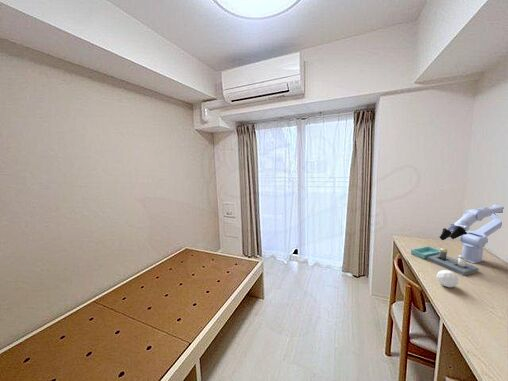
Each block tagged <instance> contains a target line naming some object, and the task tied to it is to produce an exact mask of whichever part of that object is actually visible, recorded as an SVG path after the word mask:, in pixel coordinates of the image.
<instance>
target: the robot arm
mask: <svg viewBox="0 0 508 381" xmlns="http://www.w3.org/2000/svg"><path fill="white" fill-rule="evenodd" d="M496 204H497V203H496ZM496 204H493V205H492V206H490V207H487V206H485V205H484V206H481V207H479V208H475V209H472V208H470V209H466V210H465V211H464V213H463V214H462V216H461V217H460V218H459V219H458V220H456V222H451V223H449V225H450V226H449V227H448V228H446V227H445V228H442V232H441V233H440V236H438V237H439V238H440V240H441V241H445V240H446V239H449V238H450V239H452V240H454V239H457V238H459V241H460V242H461V244H462V251H461V255H465V256H466V262H469V263H472V264H477V263H481V262H484V259H483V253H484V249H483V247H485V246H486V244H488V240H489V239H488V237H489V236H490V235H492V234H493V233H495V232H496V231H498V230H500V229H501V228H502V227H501V226H502V221H500V219H499V216H498V215H496V214H495V213H503V209H504V207H503V206H500V205H501V204H499V205H496ZM488 217H490V218H492V220H490V221H489V222H487V223H485V224H484V225H482V226H481V227H479V228H478V229H476V230H470V229H471V228H470V227H471V226H472V225H474V223H476V222H478V221H479V222H481V221H483V220H484V219H485V218H488Z"/></svg>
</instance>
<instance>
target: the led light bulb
mask: <svg viewBox="0 0 508 381" xmlns="http://www.w3.org/2000/svg"><path fill="white" fill-rule="evenodd" d="M439 250H440V256H439V259H441V260H443V261H446V256H448V254H447V253H448V249H447V248H445V247H444V248H443V247H440V249H439Z"/></svg>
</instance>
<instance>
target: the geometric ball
mask: <svg viewBox="0 0 508 381" xmlns="http://www.w3.org/2000/svg"><path fill="white" fill-rule="evenodd" d="M436 279H437V281H438V283H439V284H441V285H442V286H443V287H446V288H454V287H455V288H456V286H457V285H458V284H459V277H458V276H457V274H455V273H454V271H452V270H449V269H443V270H439V271H438V272H437V273H436Z"/></svg>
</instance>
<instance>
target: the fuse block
mask: <svg viewBox="0 0 508 381" xmlns="http://www.w3.org/2000/svg"><path fill="white" fill-rule="evenodd" d="M439 256H440V254H438V255H434V256H429V257H427V259H426V261H428V262H431V263H433V264H436V265H437V266H439V267H443V268H445V269H446V270H448V271H451V272H453V273H454V272H455V273H457V274H459V275H461V276H467V275H471V274H475V273H477V272H479V267H477V266H473V265H471V264H469V263H465V268H464V269H463V268H460V267H458V266H457V264H458V259H456V258H453V257H450V256H448V255H447V256H446V261H443V260H441V259H439Z"/></svg>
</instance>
